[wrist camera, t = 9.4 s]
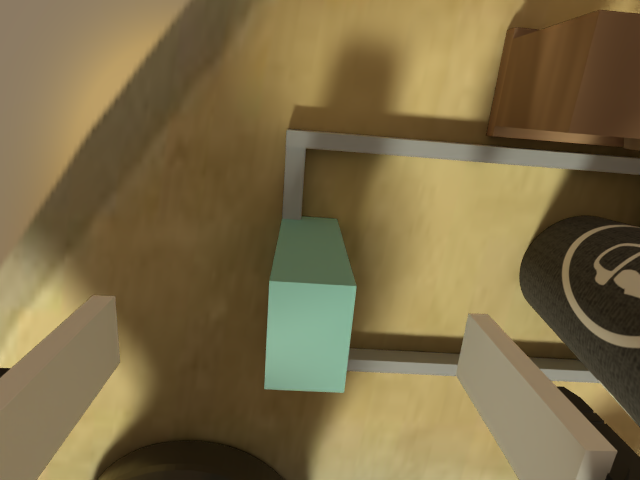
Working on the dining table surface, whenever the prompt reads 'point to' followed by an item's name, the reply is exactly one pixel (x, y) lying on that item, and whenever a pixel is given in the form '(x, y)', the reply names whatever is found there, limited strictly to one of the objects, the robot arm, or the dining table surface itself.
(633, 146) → the maple block
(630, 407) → the coffee cup
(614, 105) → the wooden l-shaped block
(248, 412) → the dining table surface
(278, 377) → the grey rectangular frame
